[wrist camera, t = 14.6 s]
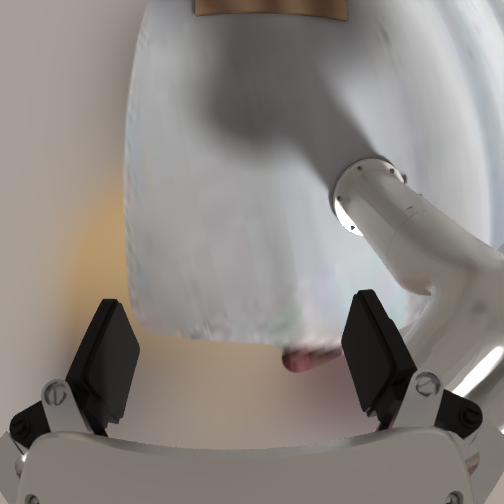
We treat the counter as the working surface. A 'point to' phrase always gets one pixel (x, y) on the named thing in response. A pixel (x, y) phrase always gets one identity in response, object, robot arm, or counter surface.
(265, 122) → the counter surface
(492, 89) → the counter surface
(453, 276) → the robot arm
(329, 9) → the walnut holder
